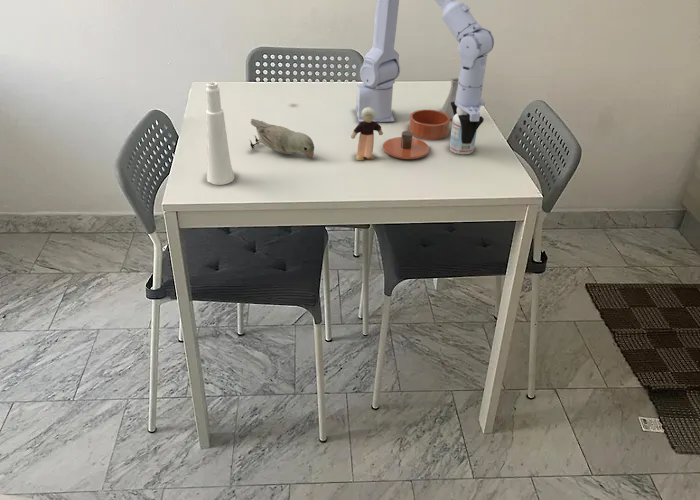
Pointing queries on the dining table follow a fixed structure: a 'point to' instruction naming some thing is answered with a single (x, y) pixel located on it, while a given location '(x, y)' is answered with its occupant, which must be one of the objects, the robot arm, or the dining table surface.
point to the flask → (451, 98)
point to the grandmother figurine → (366, 134)
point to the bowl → (429, 124)
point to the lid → (406, 147)
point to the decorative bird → (282, 139)
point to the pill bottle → (459, 136)
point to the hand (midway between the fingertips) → (463, 137)
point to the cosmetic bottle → (217, 139)
